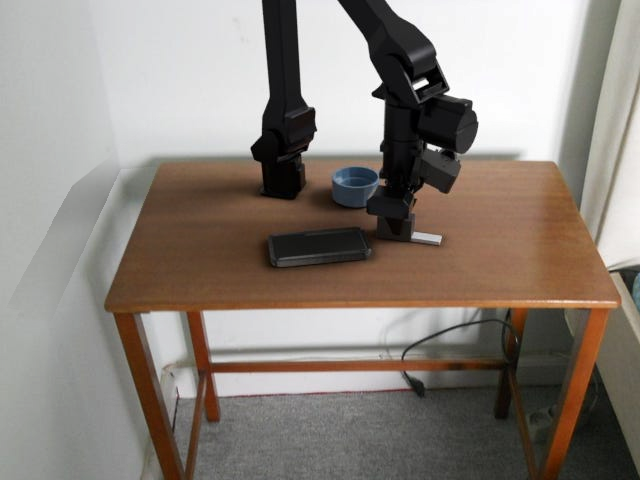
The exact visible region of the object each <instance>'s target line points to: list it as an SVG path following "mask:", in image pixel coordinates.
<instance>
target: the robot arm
mask: <svg viewBox="0 0 640 480" xmlns="http://www.w3.org/2000/svg"><path fill="white" fill-rule="evenodd" d="M336 1H337V2H338V4H339V5H340V6H341V8H342V9H343V10H344V12H345V13H346V14H347V16H348V17H349V18H350V20H351V21H352V23H353V24H354V25H355V26H356V28H357V29H358V30H359V32H360V33H361V35H362V36H363V38H364V40H365V42H366V43H367V49H368V50H367V51H368V56H369V60H370V62H371V64H372V66H373V68H374V69H375V72H376V73H377V75H378V77H379V78H380V81H381V83H380V85H378V86H377V88H375V89H374V90H373V91H371V97H373V98H375V99H378V100H381V101H384V105H383V106H384V108H383V109H384V110H383V139H382V140H381V142H380V144H379V153H382V167H381V168H380V169H379V171H378V173H379V179H381V180H384V185H383V184H380V185H378V186H376V187H375V188H374V189H373V190H372V191H371V193H370V195H369V196H368V198H367V200H366V206H365V213H366V214H367V215H369V216H375V217H377V216H381V217H385V219H386V221H387V223H388V225H389V228H390V230H391V232H392V234H393V235H397V236H399V235H400V233H401V229H402V226H403V222H404V220H405V219H409V216H410V214H411V213H412V212H413V208H414V207H415V205H416V203H417V201H418V198H415V194H416V193H418V192H419V191H420V190H422V188H423V187H424V186H425V184H426V185H428V186H430V187H433V188H434V189H436V190H438V192H439V193H441V194H444V195H447V194H449V193H450V192H451V190H452V188H453V186H454V184H455V182H456V180H457V178H458V177H459V174H460V172H461V169H462V164H461V160H460V159H457V158H458V154H459V155H464V154H466V153H467V152H468V151H469V150H470V149H471V147H472V145H473V144H474V142H475V140H476V137H477V134H478V130H479V125H480V123H479V121H478V115H477V112H476V111H475V110H474V109H473V106H474V105H473V104H474V102H473V100H471V99H468V98H464V97H463V98H462V97H461V98H460V97H455V96H451V95H447V94H446V93H448V92H450V90H451V87H450V85H449V83H448V81H447V79H446V76H445V74H444V72H443V69H442V67H441V65H440V63H439V61H438V59H437V54H438V53H437V50H436V47H435V46H434V43H433V42H432V41H431V40H430V39H429V38H428V37H427V36H426V35H425V34H424V33H423V32H422V31H421V30H420V29H419V28H418V27H417V26H416V25H415V24H414V23H412V22H410V21H408V20H406V19H404V18H402V17H401V16H400V15H398V13H396V11H394V10H393V8H392V7H391V6H390V4H389V2H387V0H336ZM261 7H262V8H261V9H262V20H263V21H262V23H263V32H264V33H263V35H264V43H265V58H266V69H267V79H268V81H267V82H268V93H269V98H268V100H267V103H266V106H265V109H264V111H263V113H262V115H261V135H260V136H259V137H258V139H256V141H255V142H254V143H252V145H251V146H250V147H249V149H250V153H251V155H252V158H253V160H254V161H256V162H258V163H260V167H261V177H262V178H261V179H262V188H261V189H260V190H259V194H260V195H262V196H266V197H267V196H268V197H273V198H274V197H276V198H281V199H282V198H283V199H289V200H295V199H297V197H298V196H299V195H300V194H301V192H302V191H303V189H304V188H305V187H306V186H307V180H306V179H307V178H306V165H305V163H304V162H303V160H302V159H303V157H302V153H306V152H307V151H308V150H309V147H310V143H312V141H313V140H314V139H315V133H316V132H318V128H317V123H316V113H317V110H316V108H315V107H314V106H309V105H308V103H307V102H306V100H305V98H304V97H303V95H302V83H301V82H302V80H301V65H300V64H301V63H300V45H299V44H300V43H299V28H298V26H299V25H298V11H297V10H298V8H297V0H261ZM425 80H426V81H427V84H425V85H422V86H420V87H418V88H415V87H414V86H415V85H417V84H419V83H421V82H423V81H425ZM428 145H431V146H434V147H437V148H436V149H435V150H433V149H431V148H428ZM438 148H440V150H439V149H438Z"/></svg>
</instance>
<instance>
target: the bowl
mask: <svg viewBox="0 0 640 480" xmlns="http://www.w3.org/2000/svg"><path fill="white" fill-rule="evenodd" d="M381 181H382V179H379V171H377V170H376V169H374V168H372V167H369V166H364V165H363V166H362V165H348V166H344V167H340V168H338V169H336V170H335V171H333V173H332V174H331V196H332V199H333V201H335V202H336V203H337V204H339V205H342V206H345V207H348V208H355V209H356V208H363V207H365V208H366V200H367V198H368V196H369V195H370V193H371V191H372V190H373V189H374V188H375V187H376V186H378V185H381Z"/></svg>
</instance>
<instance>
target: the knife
mask: <svg viewBox="0 0 640 480" xmlns="http://www.w3.org/2000/svg"><path fill="white" fill-rule="evenodd" d="M415 225H416V213H412V212H411V214H410V216H409V219H405V220H404V222H403V226H402V229H401V233H400V235H399V236H397V235H393V234H392V232H391V230H390V228H389V225H388V223H387V221H386V219H385V217H381V216H376V238H381V239H389V240H394V241H400V242H407V243H411V242H415V243H421V244H428V245H435V246H440V245H441V241H442V237H443V236H442V235H439V234H433V233H425V232H419V231H418V232H417V231H415Z"/></svg>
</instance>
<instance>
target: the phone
mask: <svg viewBox="0 0 640 480" xmlns="http://www.w3.org/2000/svg"><path fill="white" fill-rule="evenodd" d="M267 244H268V249H269V256H270V262H271V263H270V264H271V265H272V266H273V267H276V268H284V267H285V268H286V267H296V266H306V265H318V264H327V263H329V264H330V263H339V262H349V261H359V260H368V259H369V258H371V257H372V247H371V245H370V242H369V239H368V236H367V234H366V231H365V229H364V228H363V227H361V226H345V227H336V228H323V229H322V228H321V229H314V230H313V229H311V230H300V231H288V232H278V233H271V234H269V235H268V236H267Z"/></svg>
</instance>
